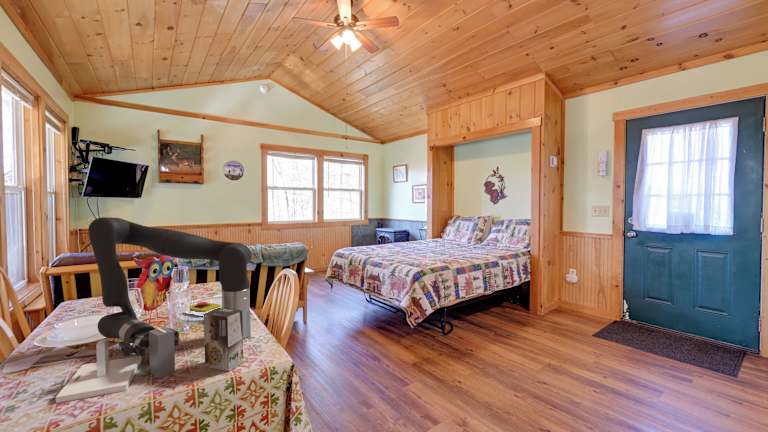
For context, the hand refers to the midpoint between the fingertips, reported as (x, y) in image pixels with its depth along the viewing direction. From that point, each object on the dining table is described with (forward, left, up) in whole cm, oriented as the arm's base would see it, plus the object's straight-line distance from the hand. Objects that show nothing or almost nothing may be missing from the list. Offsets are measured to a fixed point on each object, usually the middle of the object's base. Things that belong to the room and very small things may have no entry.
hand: (160, 347), depth 99 cm
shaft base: (+14, -1, -7) cm, 15 cm away
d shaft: (+14, -1, -6) cm, 15 cm away
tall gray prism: (0, +1, -7) cm, 7 cm away
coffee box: (-16, +3, -7) cm, 18 cm away
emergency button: (-9, -53, -8) cm, 54 cm away
